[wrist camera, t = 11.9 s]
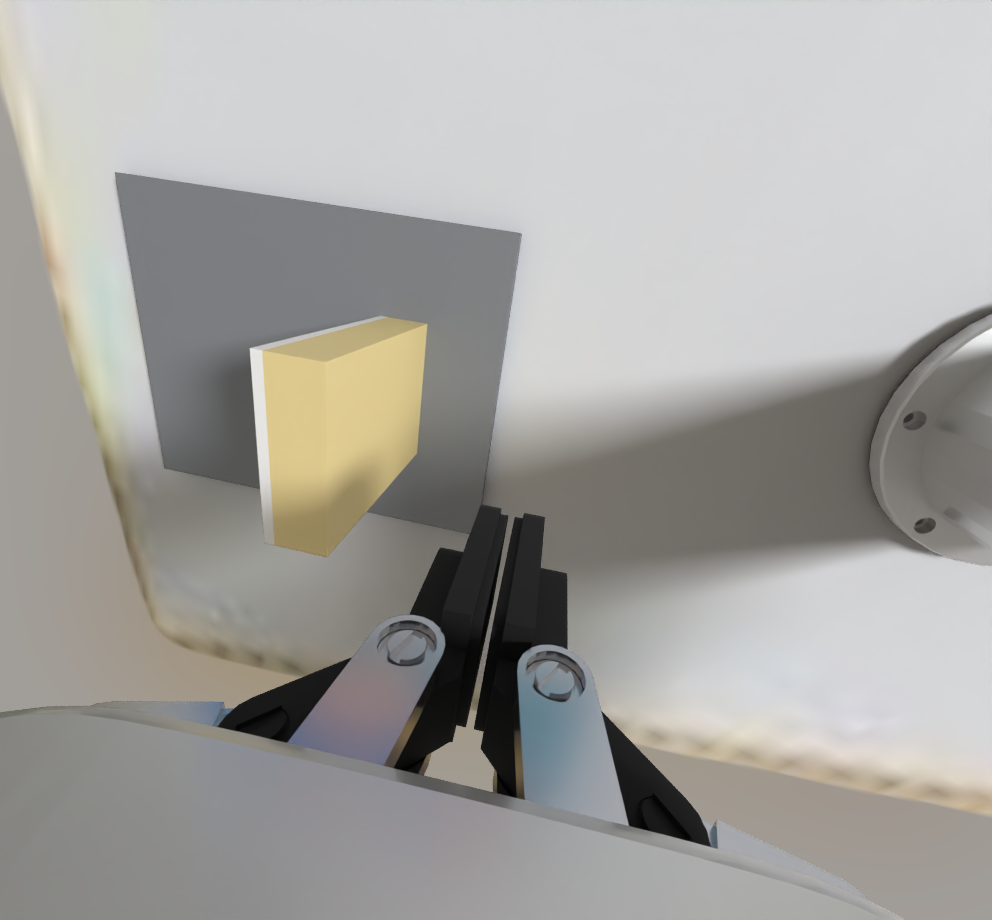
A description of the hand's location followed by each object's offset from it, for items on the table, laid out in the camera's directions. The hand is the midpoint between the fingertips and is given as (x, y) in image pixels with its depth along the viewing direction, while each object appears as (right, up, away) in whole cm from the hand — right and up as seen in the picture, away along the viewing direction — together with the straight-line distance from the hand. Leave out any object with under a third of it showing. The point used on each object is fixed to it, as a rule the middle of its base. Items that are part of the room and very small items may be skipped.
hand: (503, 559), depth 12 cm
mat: (-10, +8, +13) cm, 18 cm away
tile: (-5, +6, +12) cm, 15 cm away
